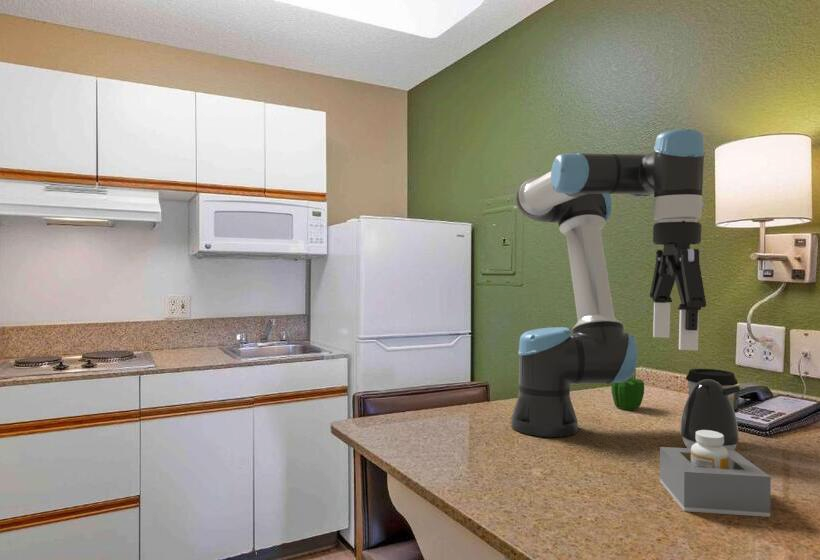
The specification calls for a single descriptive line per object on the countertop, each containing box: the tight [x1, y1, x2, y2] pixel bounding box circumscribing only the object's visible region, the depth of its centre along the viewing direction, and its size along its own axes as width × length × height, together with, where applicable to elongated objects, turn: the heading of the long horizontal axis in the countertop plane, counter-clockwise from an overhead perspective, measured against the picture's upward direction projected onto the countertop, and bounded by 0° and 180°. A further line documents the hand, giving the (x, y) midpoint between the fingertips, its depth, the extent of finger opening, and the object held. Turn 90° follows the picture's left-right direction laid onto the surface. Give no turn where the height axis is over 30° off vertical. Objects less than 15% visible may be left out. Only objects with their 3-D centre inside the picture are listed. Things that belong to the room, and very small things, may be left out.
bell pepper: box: [611, 377, 645, 411], centre depth 144 cm, size 8×8×10 cm
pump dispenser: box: [679, 379, 741, 451], centre depth 106 cm, size 10×10×15 cm
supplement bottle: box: [691, 430, 729, 469], centre depth 86 cm, size 5×5×10 cm
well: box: [659, 446, 772, 518], centre depth 86 cm, size 12×12×6 cm
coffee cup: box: [685, 368, 739, 407], centre depth 116 cm, size 10×10×15 cm
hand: (673, 343), depth 93 cm, fingers open, 13 cm apart
